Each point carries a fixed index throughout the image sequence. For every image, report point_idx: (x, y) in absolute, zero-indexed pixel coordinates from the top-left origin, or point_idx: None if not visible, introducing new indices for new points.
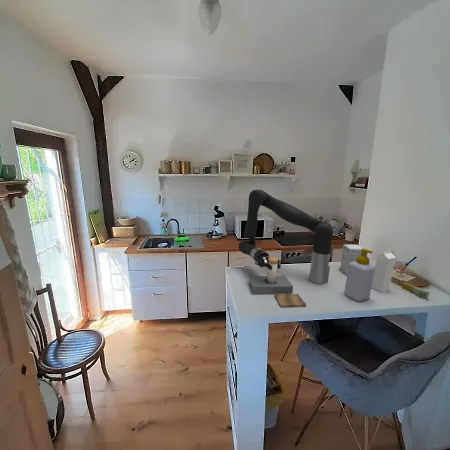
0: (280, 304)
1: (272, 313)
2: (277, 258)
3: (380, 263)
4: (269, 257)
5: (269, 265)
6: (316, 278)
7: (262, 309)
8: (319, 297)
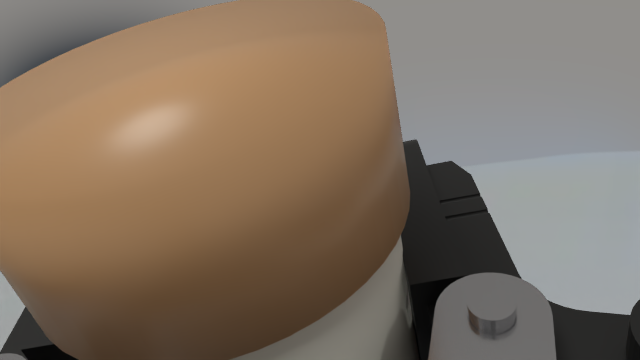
0: None
1: (537, 170)
2: (37, 77)
3: None
4: (297, 97)
5: (430, 182)
6: None
7: (622, 203)
8: (6, 322)
